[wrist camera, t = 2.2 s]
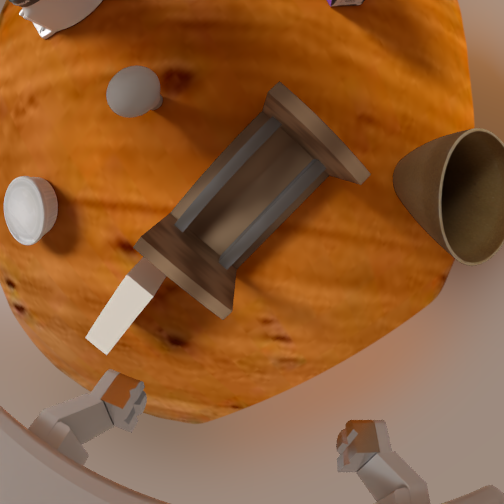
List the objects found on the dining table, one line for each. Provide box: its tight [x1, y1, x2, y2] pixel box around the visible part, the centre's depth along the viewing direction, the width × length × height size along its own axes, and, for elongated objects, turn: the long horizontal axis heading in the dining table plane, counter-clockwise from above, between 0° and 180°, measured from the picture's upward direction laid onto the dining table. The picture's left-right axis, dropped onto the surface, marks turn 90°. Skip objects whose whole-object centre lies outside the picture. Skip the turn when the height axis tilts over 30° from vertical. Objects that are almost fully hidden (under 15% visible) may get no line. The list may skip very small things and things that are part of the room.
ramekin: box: [4, 176, 58, 245], centre depth 33 cm, size 11×11×5 cm
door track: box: [133, 81, 371, 320], centre depth 30 cm, size 12×21×12 cm, turn 137°
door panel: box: [86, 257, 166, 355], centre depth 36 cm, size 4×14×10 cm, turn 137°
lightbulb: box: [106, 66, 163, 118], centre depth 26 cm, size 6×6×11 cm
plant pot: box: [393, 128, 504, 266], centre depth 28 cm, size 15×15×16 cm
